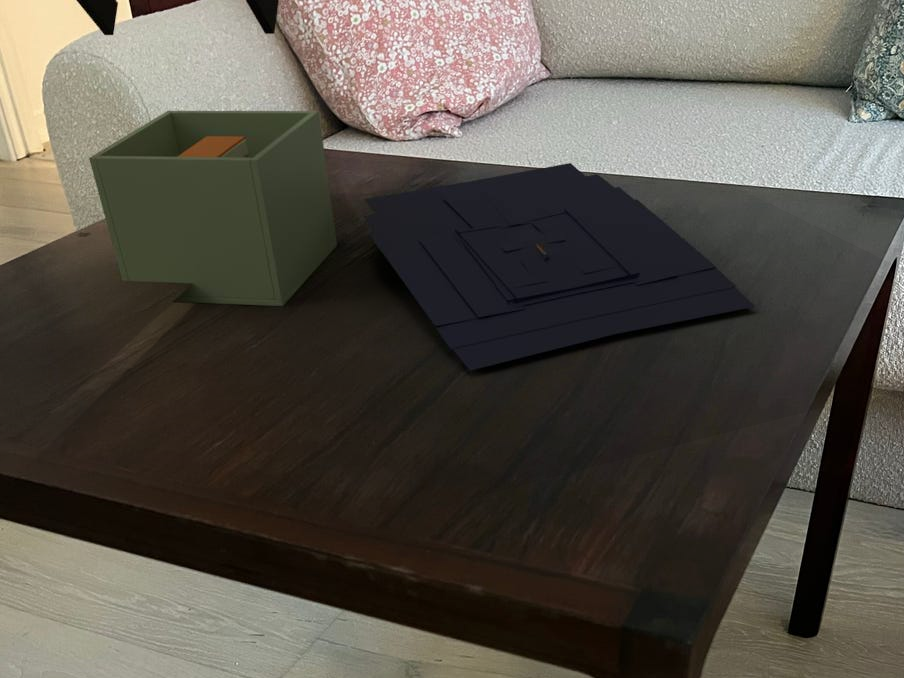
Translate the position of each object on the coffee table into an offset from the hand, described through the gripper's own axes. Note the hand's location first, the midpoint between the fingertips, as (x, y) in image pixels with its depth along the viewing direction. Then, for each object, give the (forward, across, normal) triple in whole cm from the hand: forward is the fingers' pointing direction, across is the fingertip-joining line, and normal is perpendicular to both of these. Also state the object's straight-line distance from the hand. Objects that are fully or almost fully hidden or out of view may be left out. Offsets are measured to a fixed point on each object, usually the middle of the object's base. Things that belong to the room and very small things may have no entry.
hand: (190, 18), depth 82 cm
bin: (+13, 0, -15) cm, 20 cm away
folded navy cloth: (+14, +27, -14) cm, 34 cm away
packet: (+12, 0, -14) cm, 19 cm away
